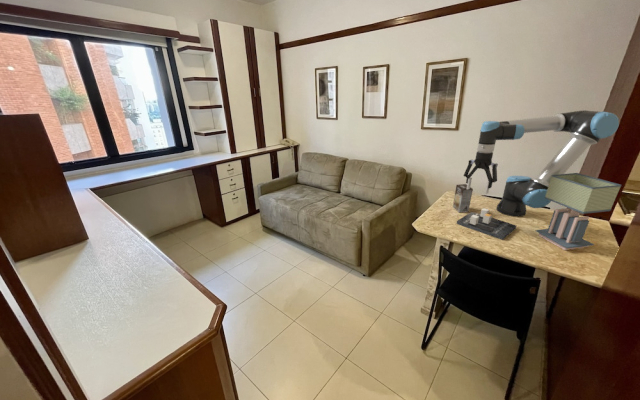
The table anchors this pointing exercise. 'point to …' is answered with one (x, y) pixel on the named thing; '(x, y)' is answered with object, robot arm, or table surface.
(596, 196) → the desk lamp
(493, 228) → the panel
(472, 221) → the block
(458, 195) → the coffee box
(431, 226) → the table surface
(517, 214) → the robot arm
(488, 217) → the block
